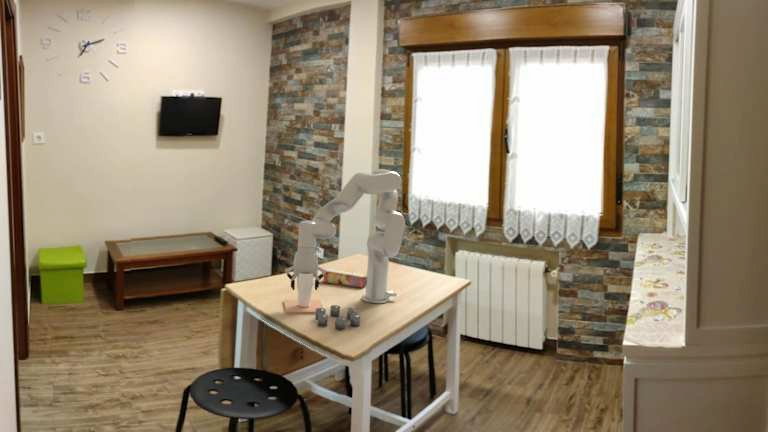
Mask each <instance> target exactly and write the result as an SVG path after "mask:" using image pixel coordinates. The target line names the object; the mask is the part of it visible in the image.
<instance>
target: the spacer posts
mask: <svg viewBox="0 0 768 432" xmlns="http://www.w3.org/2000/svg"><path fill="white" fill-rule="evenodd" d="M326 311H327V310H326V308H324V307H323V308H317V309H316V314H315V317H314V319H315V320H316V321H317V324H316V325H317V327H319V328H326V327H328V323H329V322H328V321H329V317H330V318H335V322H334V329H335V330H336V331H344V330H346V320H348V321H349V326H350V327H355V328H357V327H360V325H361V315H360V314H358V309H357V308H355V307H349V308H347V312H346V318H345V317H342V316H341V306H340V305H336V304H335V305H334V304H333V305H330V311H329V315H328V314H326Z"/></svg>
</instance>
